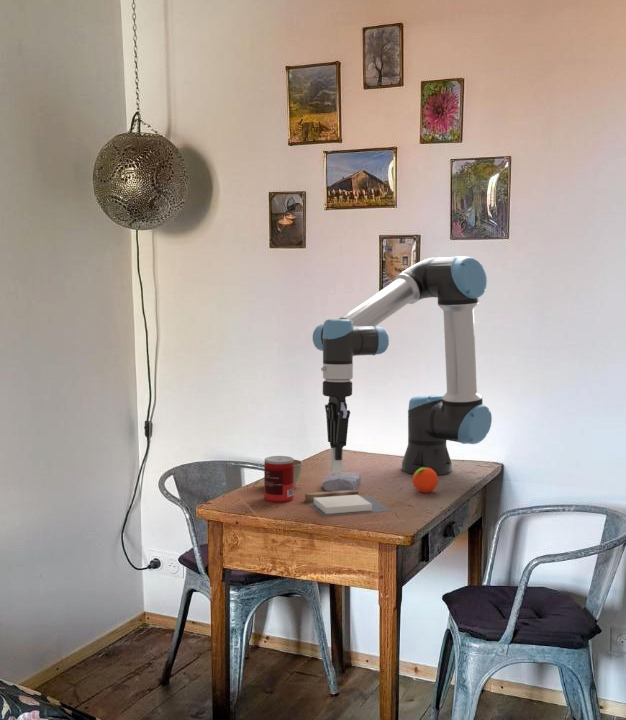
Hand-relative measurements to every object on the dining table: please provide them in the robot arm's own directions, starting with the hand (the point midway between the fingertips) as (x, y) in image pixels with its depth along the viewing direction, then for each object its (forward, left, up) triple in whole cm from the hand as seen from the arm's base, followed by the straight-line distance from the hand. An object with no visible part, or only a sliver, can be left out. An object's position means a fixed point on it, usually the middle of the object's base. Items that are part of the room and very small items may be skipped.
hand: (336, 471), depth 212 cm
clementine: (-27, -6, -9) cm, 29 cm away
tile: (0, -1, -7) cm, 7 cm away
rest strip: (0, -4, -8) cm, 9 cm away
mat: (-2, +2, -9) cm, 9 cm away
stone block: (-7, -17, -9) cm, 21 cm away
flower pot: (+8, -22, -9) cm, 25 cm away
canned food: (+13, -9, -9) cm, 18 cm away
